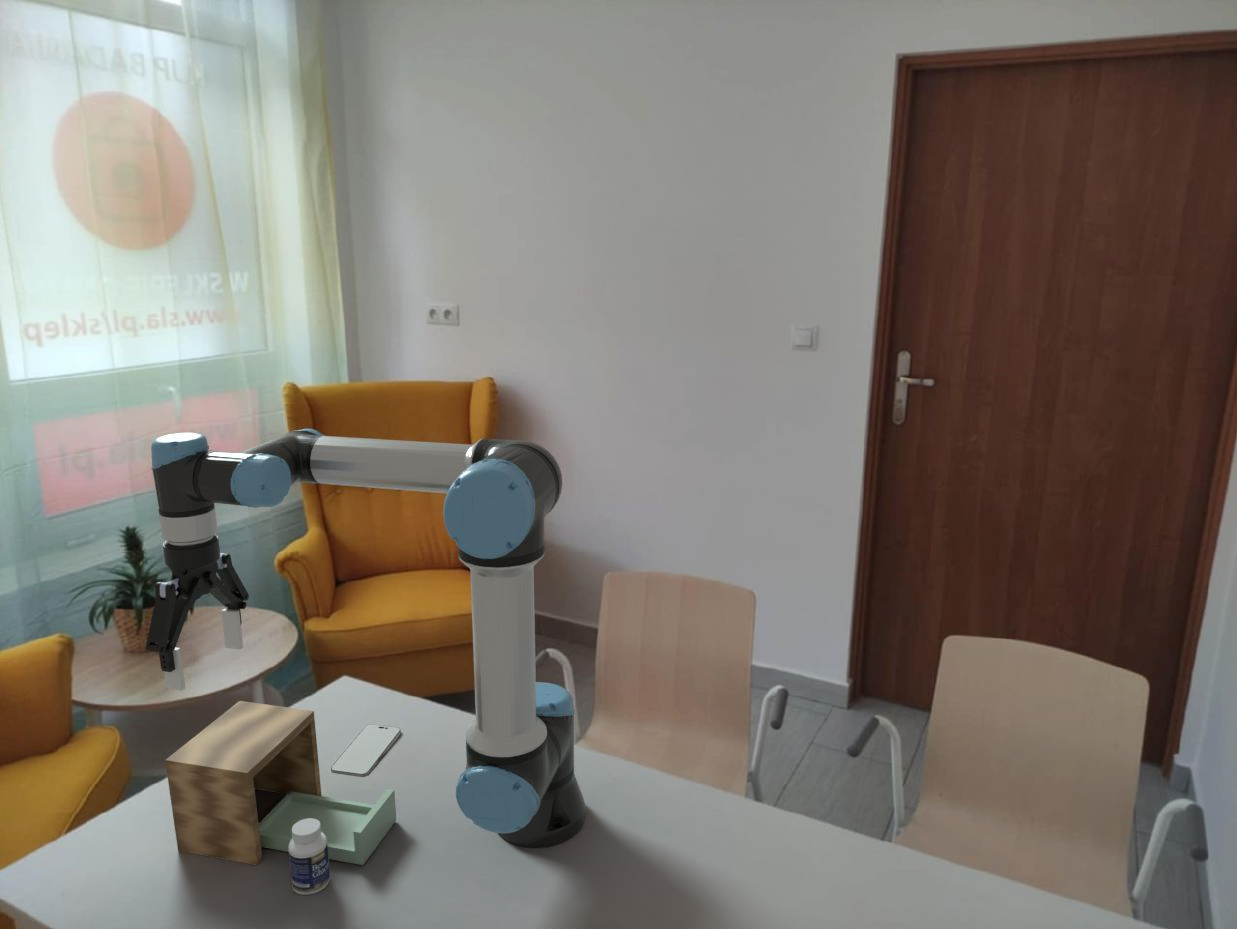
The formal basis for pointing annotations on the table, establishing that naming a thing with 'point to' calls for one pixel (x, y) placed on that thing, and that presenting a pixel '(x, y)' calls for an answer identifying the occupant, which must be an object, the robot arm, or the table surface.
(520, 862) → the table surface
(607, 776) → the table surface
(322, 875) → the pill bottle
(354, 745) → the smartphone
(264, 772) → the wooden drawer cabinet
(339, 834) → the tray
